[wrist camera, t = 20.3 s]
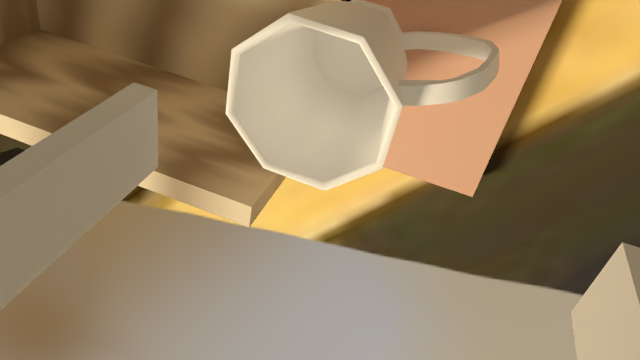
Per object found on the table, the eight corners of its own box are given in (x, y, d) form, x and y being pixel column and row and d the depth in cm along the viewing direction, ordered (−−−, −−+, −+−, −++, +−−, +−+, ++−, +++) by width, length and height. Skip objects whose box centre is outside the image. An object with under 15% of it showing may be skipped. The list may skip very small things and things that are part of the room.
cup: (282, -22, 25) (198, 24, 18) (501, -54, 21) (493, -10, 15) (309, 111, 28) (246, 190, 22) (502, 104, 24) (495, 195, 18)
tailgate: (317, 146, 29) (471, 198, 28) (375, -132, 21) (597, -78, 20) (323, 136, 30) (473, 186, 29) (381, -133, 22) (594, -82, 20)
